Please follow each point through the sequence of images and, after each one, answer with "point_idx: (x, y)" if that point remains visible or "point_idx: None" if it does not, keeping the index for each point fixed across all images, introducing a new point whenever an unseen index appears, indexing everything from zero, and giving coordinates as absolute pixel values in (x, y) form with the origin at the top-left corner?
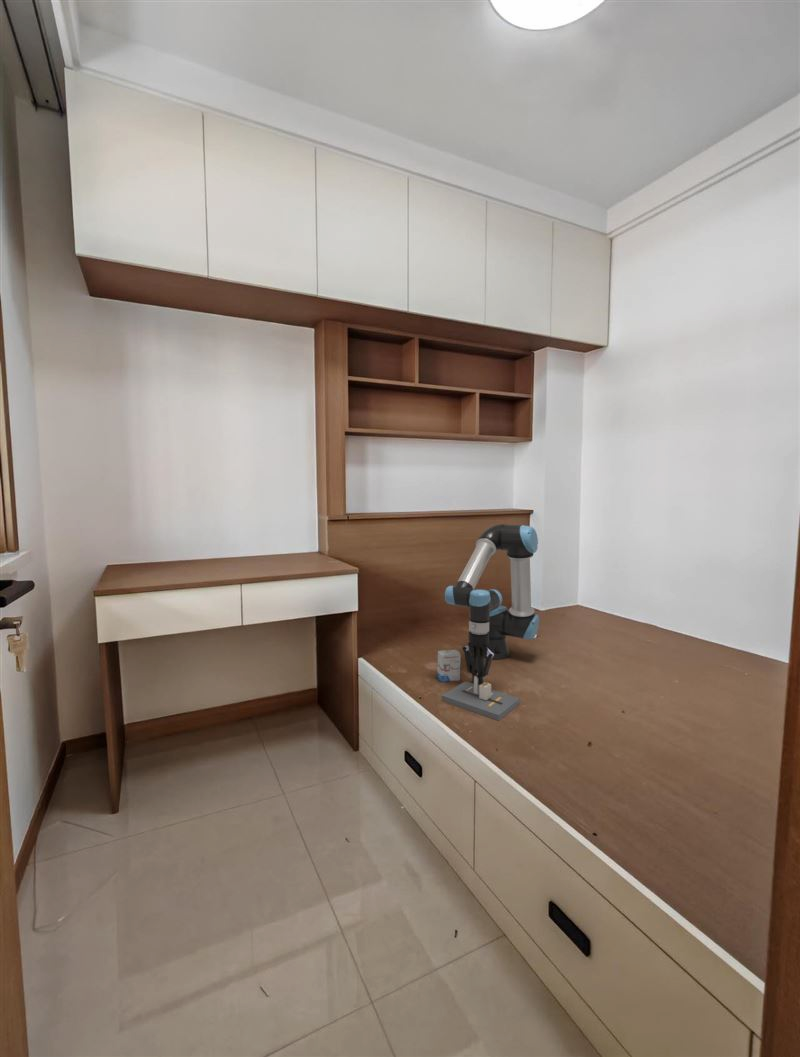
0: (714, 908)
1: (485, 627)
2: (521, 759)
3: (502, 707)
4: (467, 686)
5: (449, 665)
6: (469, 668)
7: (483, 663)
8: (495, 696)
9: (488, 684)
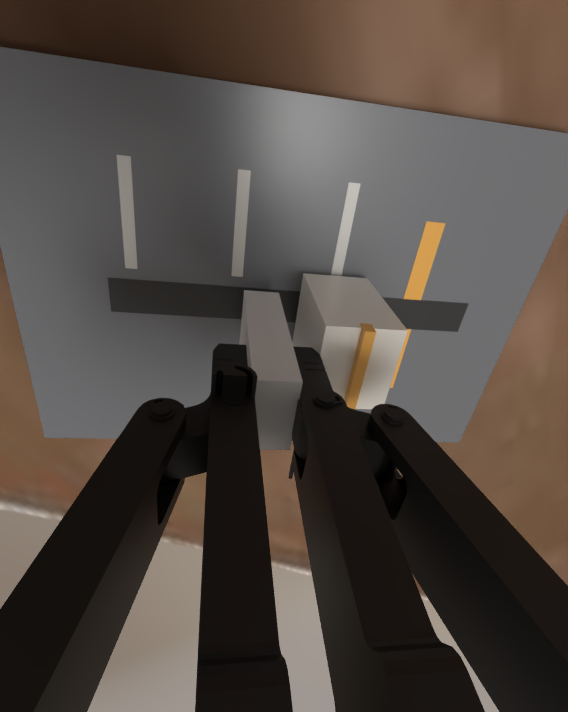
0: None
1: None
2: (546, 560)
3: (469, 359)
4: (80, 178)
5: None
6: (165, 510)
7: (392, 549)
8: (392, 231)
9: (381, 350)
